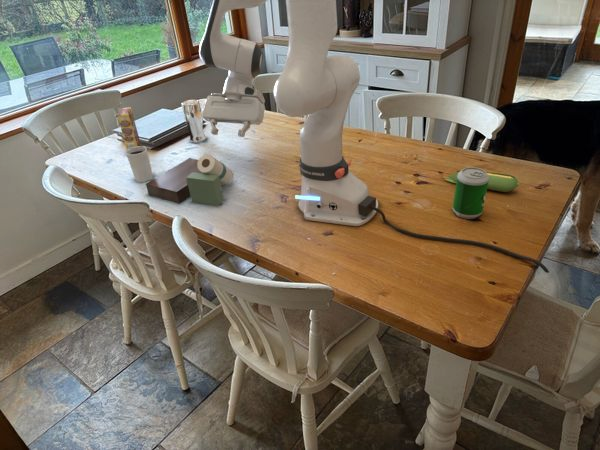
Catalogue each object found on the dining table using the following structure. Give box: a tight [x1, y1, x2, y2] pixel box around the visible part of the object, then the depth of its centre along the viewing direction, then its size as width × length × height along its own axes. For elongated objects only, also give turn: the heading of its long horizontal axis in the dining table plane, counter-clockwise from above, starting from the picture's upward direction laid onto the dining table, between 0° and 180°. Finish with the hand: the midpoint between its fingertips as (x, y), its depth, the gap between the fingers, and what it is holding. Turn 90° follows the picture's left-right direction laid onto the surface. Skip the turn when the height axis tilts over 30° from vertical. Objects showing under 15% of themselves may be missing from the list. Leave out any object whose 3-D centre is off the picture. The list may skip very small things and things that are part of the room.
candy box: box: [117, 106, 142, 150], centre depth 162 cm, size 9×4×15 cm, turn 13°
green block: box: [186, 172, 225, 207], centre depth 127 cm, size 4×9×8 cm, turn 70°
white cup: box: [125, 146, 154, 183], centre depth 143 cm, size 7×7×10 cm
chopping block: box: [145, 157, 204, 204], centre depth 138 cm, size 13×20×4 cm, turn 150°
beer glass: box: [181, 99, 207, 144], centre depth 167 cm, size 7×7×15 cm
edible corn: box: [444, 170, 520, 193], centre depth 125 cm, size 5×20×5 cm, turn 62°
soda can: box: [451, 166, 489, 220], centre depth 111 cm, size 8×8×12 cm
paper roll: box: [197, 153, 235, 186], centre depth 131 cm, size 13×6×13 cm, turn 160°
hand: (227, 135), depth 135 cm, fingers open, 8 cm apart
